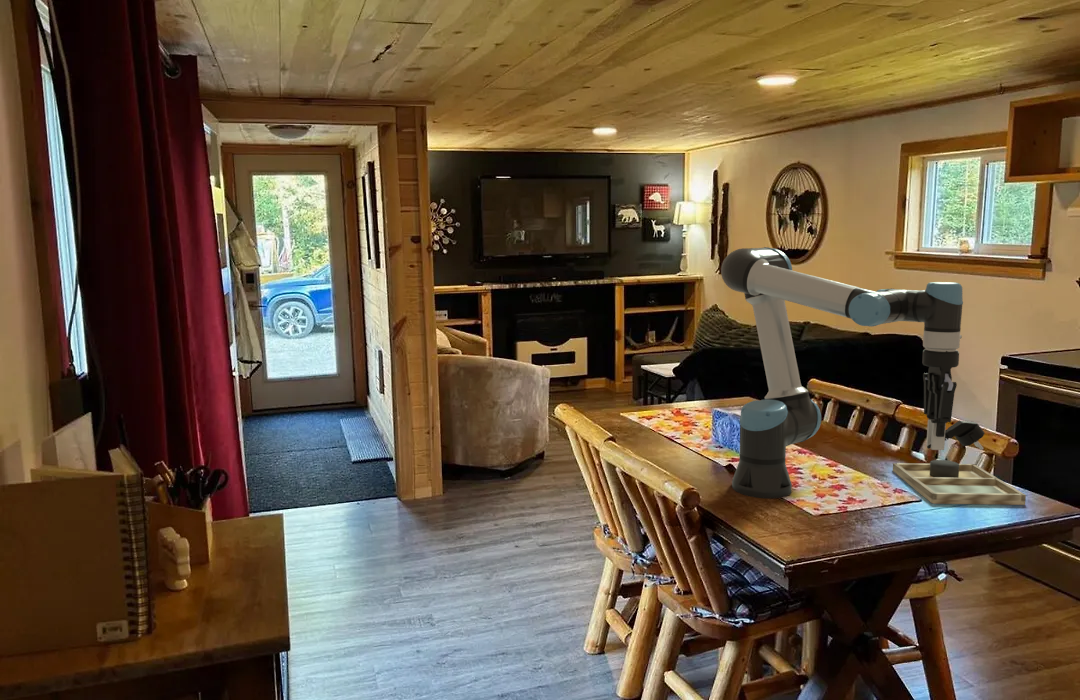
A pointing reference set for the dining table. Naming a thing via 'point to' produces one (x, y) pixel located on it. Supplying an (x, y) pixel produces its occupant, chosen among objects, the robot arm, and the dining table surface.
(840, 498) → the dining table surface
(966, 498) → the organizer
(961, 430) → the power plug
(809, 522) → the dining table surface
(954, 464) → the dark gray rounded block
